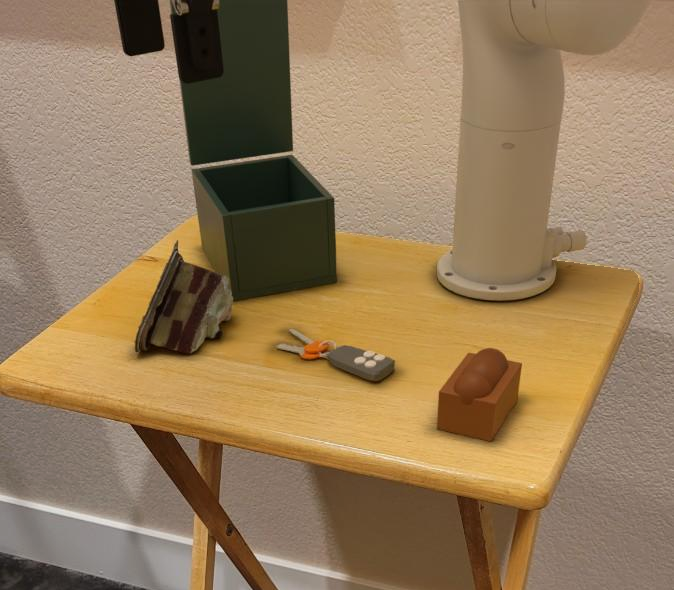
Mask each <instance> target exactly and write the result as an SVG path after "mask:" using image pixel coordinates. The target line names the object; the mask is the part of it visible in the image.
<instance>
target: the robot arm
mask: <svg viewBox="0 0 674 590" xmlns="http://www.w3.org/2000/svg"><path fill="white" fill-rule="evenodd" d="M171 1H172V3H173V6H174V8H175V11H176V14H171V13H170V14H169V19H170V26H171V32H172V40H173V47H174V55H175V61H176V67H177V74H178V79H180V80H179V82H180V81H182V82H184V83H186V84H189V83H194V82H199V81H204V80H209V79H214V78H219V77H221V76H222V75H223V73H224V68H223V59H222V50H221V41H220V32H219V23H218V14H217V10H218V8H219V0H171ZM651 1H652V0H457V5H458V15H459V23H460V32H461V46H462V86H461V104H460V105H461V107H460V117H459V132H458V133H459V134H458V150H457V165H456V166H457V167H456V168H457V169H456V181H455V182H456V184H455V199H454V200H455V201H454V215H453V216H454V217H453V233H452V234H453V235H452V249H451V250H448V251H447V252H445V253H444V254H443V255H441V257H440V258H439V259H438V260H437V263H436V277H437V279H438V281H439V283H441V285H442V286H444V287H445V288H446V289H447V290H449V291H451V292H453V293H455V294H457V295H461V296H462V297H463V296H464V297H467V298H472V299H475V300H482V301H483V300H484V301H495V302H496V301H515V300H522V299H526V298H531V297H534V296H536V295H539V294H541V293H543V292H545V291H546V290H548V289H550V287H551V286H552V285H553V284H554V282H555V280H556V275H557V264H556V263H555V261H554V260H553V259H554V258H558V257H559V256H560V254H561V253H566V252H567V253H570V252H576V251H581V250H584V249H585V248H586V246H587V241H588V239H587V234H586V232H585V231H583V230H575V231H570V232H565V233H564V229H563V227H562V226H554V227H549V228H548V222H549V215H550V208H551V200H552V191H553V185H554V177H555V170H556V169H555V168H556V161H557V154H558V146H559V140H560V139H559V138H560V133H561V132H560V131H561V123H562V119H563V113H564V104H565V94H566V93H565V92H566V90H565V87H566V86H565V72H564V65H563V60H562V59H563V58H562V55H561V51H562V52H567V53H572V54H576V55H581V56H590V57H591V56H600V55H603V54H608V53H609V52H612V51H614V50H615V49H617V48H618V47H619V46H620V45H622V43H624V42H625V41H626V40H627V39H628V37H630V36H631V34H633V31H634V30H635V29H636V27H637V26H638V25H639V23H640V21H641V19H642V18H643V16H644V14H645V12H646V11H647V9H648V7H649V5H650V3H651ZM113 2H114V7H115V8H114V9H115V12H116V13H115V14H116V19H117V23H118V25H117V26H118V29H119V35H120V41H121V45H122V46H121V47H122V51H123V54H125V55H126V56H129V57H135V56H142V55H146V54H150V53H157V52H162V51H163V50H164V49H165V46H166V45H165V43H166V42H165V37H164V30H163V24H162V16H161V10H160V4H159V0H113Z"/></svg>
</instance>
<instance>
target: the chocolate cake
mask: <svg viewBox="0 0 674 590" xmlns="http://www.w3.org/2000/svg"><path fill="white" fill-rule="evenodd" d="M228 281H229V279H228V277H226V276H225V275H222V274H219V273H216V271H215V270H214V271H213V270H211V269H208V268H205V267H203V266H199V265H197V264H193V263H191V262H186V261H185V260H184V258H183V256H182V254H180V252H179V240H178V239H177V240H176V242H175V243H174V245H173V248H172V250H171V253H170V256H169V258H168V260H167V262H166V263H165V266H164V268H163V270H162V273H161V275H160V277H159V281H158V282H157V285H156V288H155V290H154V293H153V295H152V296H151V299H150V301H149V303H148V307H147V310H146V312H145V315H143V316H142V319H141V322H140V324H139V326H138V327H137V328H138V329H137V331H136V334H135V340H134V352H135V353H139V352H141V351H148V350H149V349H150V347H151V345H154V346H156V347H162V348H164V349H167V350H174V351H176V352H181V353H183V354H187V355H191V354H192V353H194V352H195V351H197V350H198V349H199V347H201V345H202V344H203V343H204V342H205V339H206V338H208V339H220V338H222V336H223V331H222V330H221V329H220V327H219V324H221V323H222V322H223V321H224V322H228V321H230V320H231V315H232V314H233V304H234V303H233V302H234V301H233V297H232V296H231V295H232V292H231V291H230V290H229V289H228Z"/></svg>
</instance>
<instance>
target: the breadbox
mask: <svg viewBox="0 0 674 590" xmlns="http://www.w3.org/2000/svg"><path fill="white" fill-rule="evenodd" d="M191 178H192V185H193V191H194V198H195V199H194V200H195V206H196V207H195V208H196V213H197V214H196V215H197V221H198V227H199V236H200V242H201V248H202V251H203V253H204V254H205V256H206V258H207V259H208V261H209V263H210V265H211V266H212V268H213V270H214V272H216V273H219V274H222V275H225V276H226V277H228V279H229V281H228V289H229V290H230V291H231V292H232V295H231V296H232V297H233V302H236V301H241V300H246V299H251V298H257V297H262V296H263V297H264V296H268V295H275V294H280V293H286V292H292V291H297V290H302V289H307V288H313V287H318V286H320V287H321V286H325V285H329V284H335V283H336V284H337V283H338V276H337V275H338V267H337V239H336V238H337V237H336V236H337V235H336V210H335V209H336V208H335V207H336V206H335V204H336V203H335V197H334V196H333V195H332V194H331V193H330V192H329V191H328V190H327V189H326V188H325V186H323V185H322V184H321V183H320V181H319V180H318V179H317V178H316V177H315V176H314V175H313V174H312V173H311V172H310V171H309V170H308V168H306V167H305V166H304V165H303V164H302V162H300V161H299V160H298V158H297V157H295V156H294V155H293V154H287V155H279V156H273V157H266V158H258V159H252V160H246V161H238V162H231V163H224V164H217V165H210V166H204V167H203V166H202V167H197V168H191Z"/></svg>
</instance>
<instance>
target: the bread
mask: <svg viewBox="0 0 674 590" xmlns="http://www.w3.org/2000/svg"><path fill="white" fill-rule="evenodd" d="M522 366H523V363H522V362H518V361H514V360H510V359H507V356H506V355H505V354H504V352H502V351H501V350H499V349H497V348H493V347H486V348H483V349H481V350H478V352H476V353H474V352H467V353H466V355H465V356H464V358H463V359H462V360H461V361H460V363H459V364H458V366H456V368H455V369H454V371H453V372H452V373H451V375H450V376H449V377H448V378H447V380H446V381H445V383H444V384H443V385H442V386H441V388H440V389H439V391H438V401H437V402H438V403H437V419H436V429H437V430H441V431H445V432H449V433H453V434H456V435H457V434H458V435H460V436H461V435H462V436H466V437H471V438H475V439H478V440H482V441H487V442H492V441H493V439H494V438H495V436H496V435H497V433H498V432H499V430H500V429H501V427H502V425H503V423H504V422H505V421H506V419H507V418H508V417H509V414H510V413H511V411H512V409H513V408H514V406H515V405H516V403H517V401H518V399H519V391H520V383H521V375H522V369H523V368H522Z"/></svg>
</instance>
